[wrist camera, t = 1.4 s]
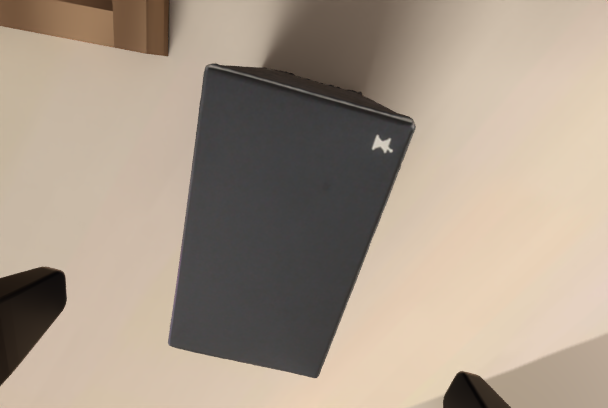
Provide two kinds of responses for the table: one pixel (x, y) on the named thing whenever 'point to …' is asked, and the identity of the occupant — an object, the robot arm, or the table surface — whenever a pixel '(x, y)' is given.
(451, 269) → the table surface
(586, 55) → the table surface
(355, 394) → the table surface
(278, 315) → the small box
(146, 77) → the table surface
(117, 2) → the walnut holder
